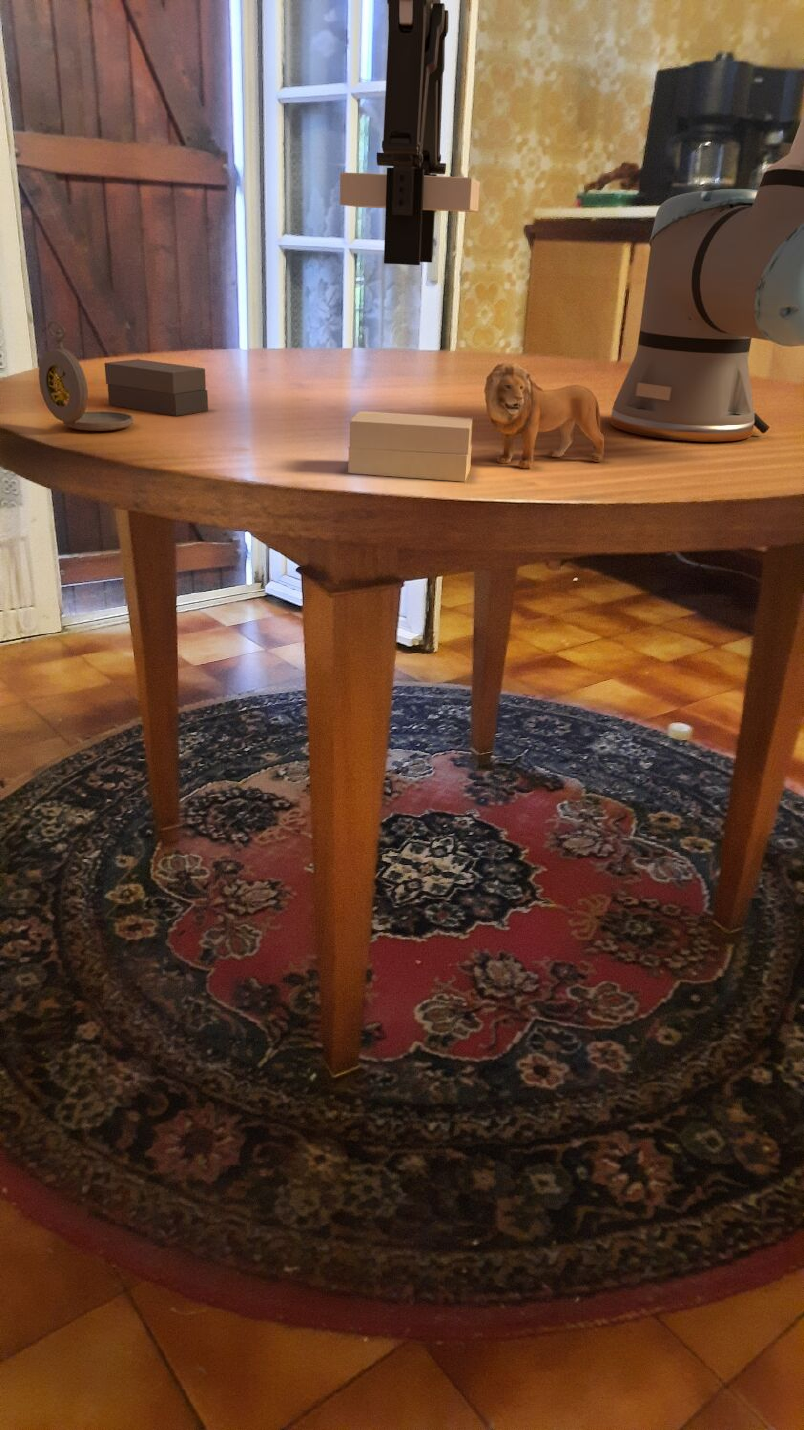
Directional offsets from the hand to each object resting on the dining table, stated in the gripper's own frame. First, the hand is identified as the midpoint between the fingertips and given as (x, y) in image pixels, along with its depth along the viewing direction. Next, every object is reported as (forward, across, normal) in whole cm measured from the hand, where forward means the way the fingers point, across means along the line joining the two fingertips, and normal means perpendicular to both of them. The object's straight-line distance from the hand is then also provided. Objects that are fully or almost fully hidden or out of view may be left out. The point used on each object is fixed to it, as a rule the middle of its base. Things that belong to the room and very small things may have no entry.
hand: (409, 262), depth 82 cm
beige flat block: (-4, 0, 0) cm, 4 cm away
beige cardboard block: (+16, +1, +1) cm, 16 cm away
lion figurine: (+17, -6, +12) cm, 22 cm away
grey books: (+17, -22, -30) cm, 41 cm away
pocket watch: (+17, -8, -32) cm, 37 cm away
